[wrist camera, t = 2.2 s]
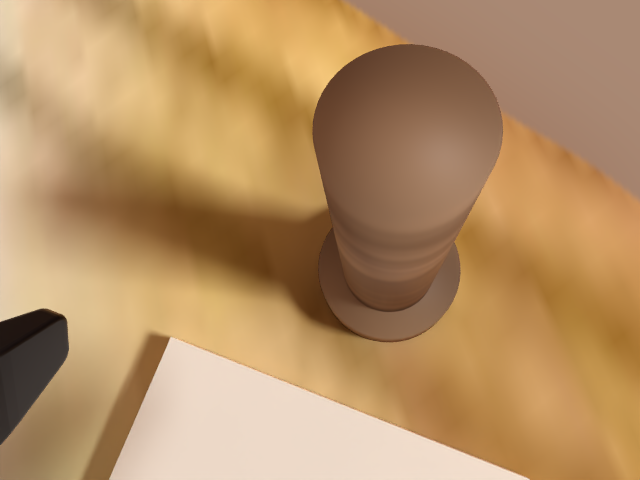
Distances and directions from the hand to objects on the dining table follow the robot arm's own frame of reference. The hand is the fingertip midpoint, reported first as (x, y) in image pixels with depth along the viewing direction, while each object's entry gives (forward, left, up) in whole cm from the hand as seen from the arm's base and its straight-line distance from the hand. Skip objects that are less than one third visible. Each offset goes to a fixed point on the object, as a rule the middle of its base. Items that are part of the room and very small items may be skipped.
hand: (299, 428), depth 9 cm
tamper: (+5, +3, -12) cm, 13 cm away
